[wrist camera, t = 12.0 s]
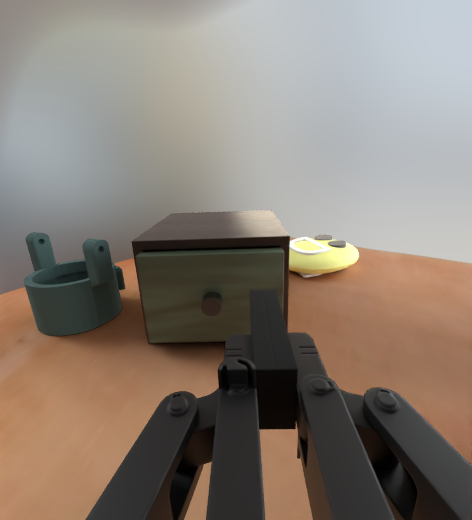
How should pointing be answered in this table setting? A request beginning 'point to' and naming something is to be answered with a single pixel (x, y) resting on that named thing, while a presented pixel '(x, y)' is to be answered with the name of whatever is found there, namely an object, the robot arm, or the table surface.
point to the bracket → (72, 287)
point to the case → (217, 238)
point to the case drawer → (205, 290)
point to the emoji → (320, 255)
